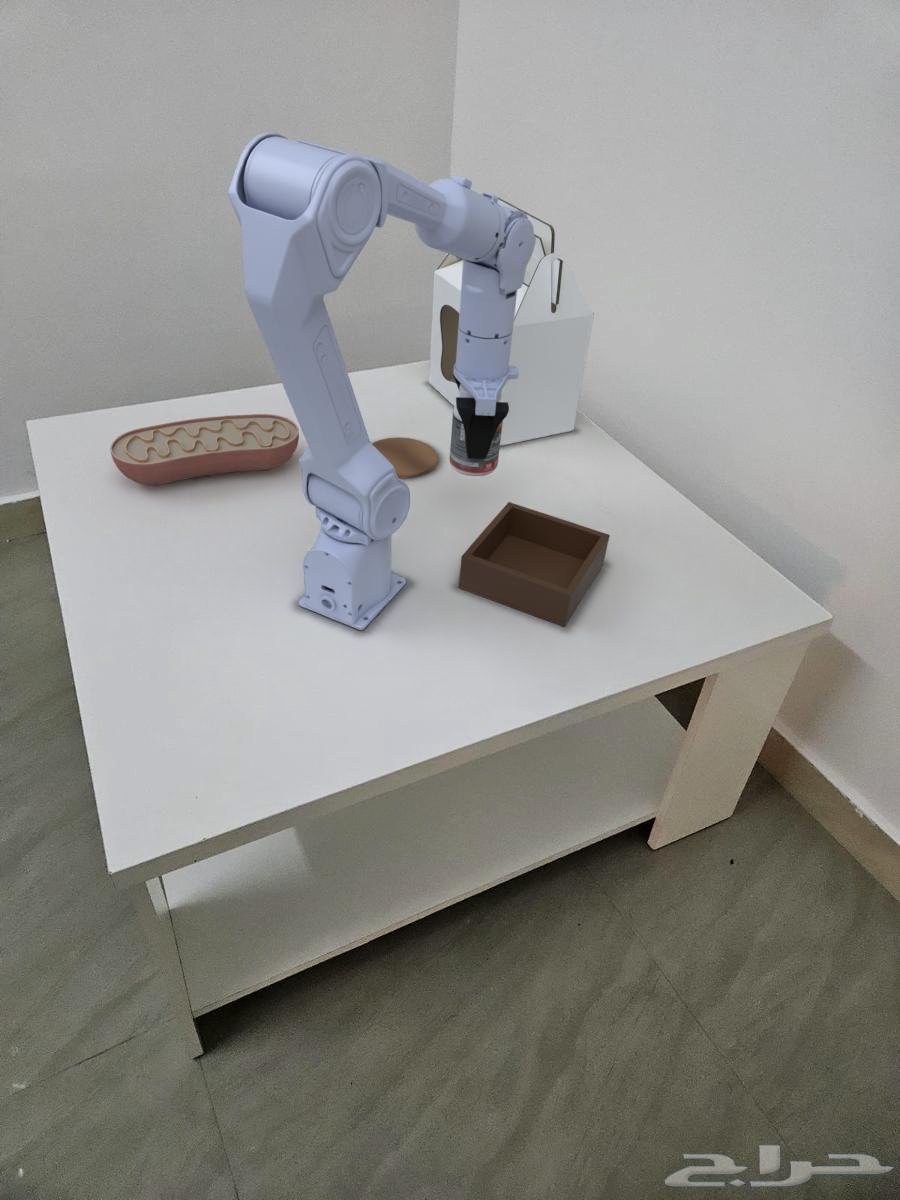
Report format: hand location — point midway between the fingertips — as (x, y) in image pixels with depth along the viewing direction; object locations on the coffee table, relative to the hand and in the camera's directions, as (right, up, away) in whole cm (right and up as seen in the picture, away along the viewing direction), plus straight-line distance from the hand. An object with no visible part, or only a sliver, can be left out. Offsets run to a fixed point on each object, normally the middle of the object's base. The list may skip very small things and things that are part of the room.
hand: (474, 443), depth 94 cm
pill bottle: (0, -2, +2) cm, 3 cm away
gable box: (+5, +11, +31) cm, 33 cm away
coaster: (-10, +1, +17) cm, 19 cm away
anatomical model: (-34, -1, +11) cm, 36 cm away
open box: (+7, -15, -1) cm, 17 cm away
